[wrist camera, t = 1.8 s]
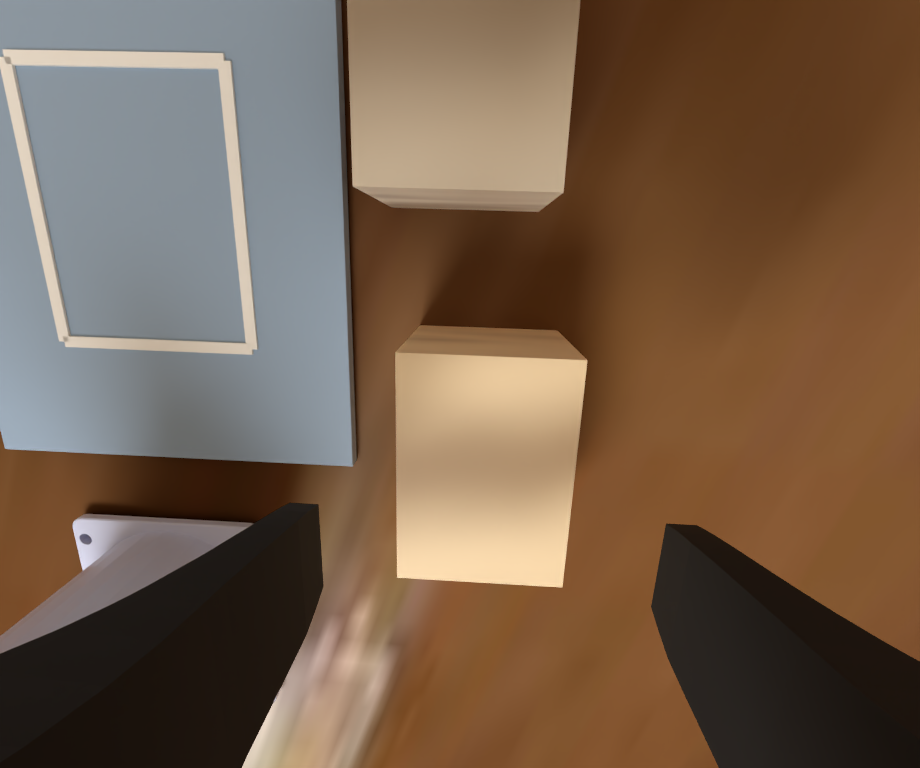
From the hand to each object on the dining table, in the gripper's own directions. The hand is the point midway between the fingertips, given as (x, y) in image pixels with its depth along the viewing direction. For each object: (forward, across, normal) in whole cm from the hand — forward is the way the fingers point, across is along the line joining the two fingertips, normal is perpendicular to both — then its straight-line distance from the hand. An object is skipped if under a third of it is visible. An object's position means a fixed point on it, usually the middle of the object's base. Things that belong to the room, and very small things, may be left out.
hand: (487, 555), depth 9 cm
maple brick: (+8, 0, 0) cm, 8 cm away
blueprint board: (+8, +12, -7) cm, 16 cm away
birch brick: (+8, +1, -11) cm, 14 cm away
